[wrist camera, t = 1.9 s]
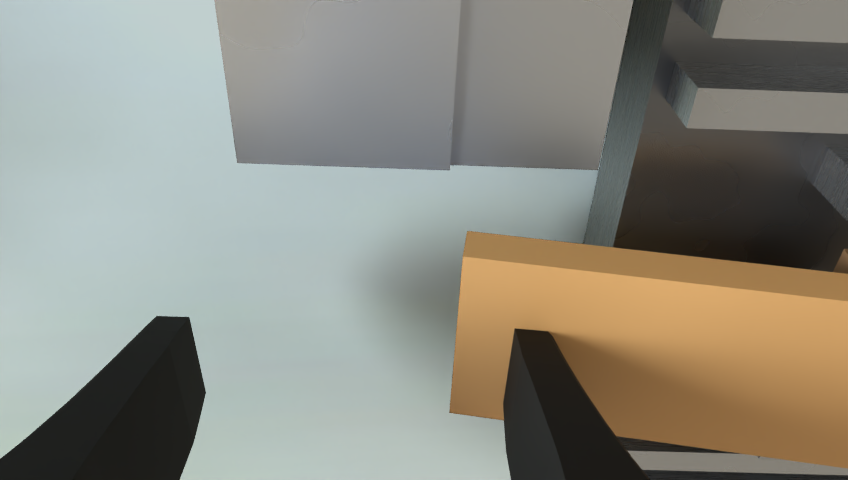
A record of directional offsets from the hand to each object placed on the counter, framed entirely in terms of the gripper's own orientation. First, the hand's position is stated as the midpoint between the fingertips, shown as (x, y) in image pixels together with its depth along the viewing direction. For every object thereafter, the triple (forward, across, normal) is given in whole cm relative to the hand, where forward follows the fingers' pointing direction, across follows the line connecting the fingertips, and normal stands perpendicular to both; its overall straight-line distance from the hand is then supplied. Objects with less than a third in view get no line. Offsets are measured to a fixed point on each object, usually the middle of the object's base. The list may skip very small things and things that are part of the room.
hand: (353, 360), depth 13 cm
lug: (+4, 0, -7) cm, 8 cm away
